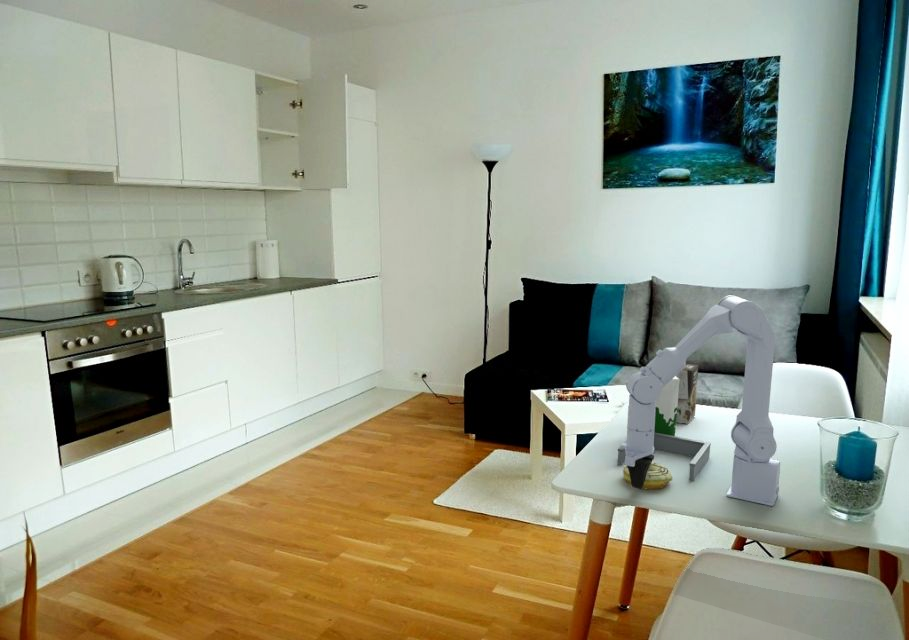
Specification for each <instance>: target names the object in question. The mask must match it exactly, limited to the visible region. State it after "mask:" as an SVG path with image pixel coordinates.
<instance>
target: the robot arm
mask: <svg viewBox="0 0 909 640" xmlns="http://www.w3.org/2000/svg"><path fill="white" fill-rule="evenodd" d="M733 329H735V330H736V331H737V333H739V334H740V335H741V336H742V337H743V338H744V339H745V340H746V342H747V343H746V351H745V352H746V356H745V368H744V378H743V390H742V391H743V392H742V404H741V410H740V412H739V413H737V415H736V420H735V424H734V425H733V427H732V429H731V431H730V438H731V441H732V442H733V444H734V445H735V447H734V448H735V449H734V451H733V460H732V461H733V462H732V463H733V464H732V474H731V475H732V476H731V483H730V484H731V485H730V486H729V489H728V490H727V491H726V493H725V495H726V497H730V498H734V499H738V500H742V501H743V500H744V501H747V502H752V503H757V504H762V505H766V506H770V507H774V505H775V503H776V500H777V497H778V495H779V492H780V486H779V483H780V473H781V461H780V460H776V459H773V458H772V457H774V455H775V454H776V451H777V445H778V444H777V442H776V439H775V437H774V429H775V428H774V426H773V424H772V421H771V419H770V416H769V412H770V402H771V401H770V400H771V391H772V379H773V365H774V355H775V345H776V333H775V330H774V329H773V326H772V324H771V322H770V320H769V319H768V317H767V311H766V310H765V309H763V307H762V306H760V305H759V304H757V303H756V302H754V301H751V300H747V299H744V298H741V297H739V296H736V295H733V294H732V295H726V296H724V297H722V298H721V299H720V300H719V301H718V303H717V304H714V305H712V306H711V307H710V308H709V310H708V311H707V312H706V314H705V315H704V316H703V317H702V318H701V319H700V320H699V321H698V322H697V323H696V324H695V325H694V327H692V328H691V329H690V331H689V332H687V334H686V335H685V336H684V337H683V338H682V339H681V340H680V341H679V342H678V343H677V344H676V345H675V346H673V347H664V348H663V349H662V350H661V349H658V350H657V351H656V352H655V354H656V355H655V357H654V358H653V359H651V360H650V361H649V362H648V363H647V364H646V365H645V366H641V367H640V368H639V371H638V372H637V371H636V372H634V373H633V374H631V375H630V376H629V378H628V381H627V382H626V383H625V387H626V390H627V392H628V393H629V397H628V407H627V409H628V410H627V423H626V424H627V425H626V426H627V427H626V428H627V429H626V441H625V442H626V443H625V442H622V443H620V447H621V448H624V449H625V452H626V455H625V456H624V461H625V462H624V464H623V465H624V466H625V465H627V467H628V470H629V474H630V479H631V484H632V485H631V484H630V485H631V487H632V488H635V489H640V490H641V489H643V488H642V487H643V485H644V482H645V479H646V475H647V471H648V469H649V466H650V464H651V462H653V461H654V460H655V455H654V453H655V449H654V446H653V445H654V427H655V410H656V409H655V404H656V400H657V399H658V398H659V397H660V394H661V389H662V388H663V387H664V386H665V385H666V384H667V383H668V382H670V381H671V380H672V379H673V378H674V377H675V376H676V375H677V374H678V373H679V372H680V371H682V370H683V369H684V368H685V365H686V364H687V362H686V361H687V358H688V357H690V356H691V355H692V354H693V353H695V352H696V351H697V350H699V348H700V347H702V346H703V345H705V343H708V341H709V340H711V339H712V338H713V337H714V336H715V335H718V334H719V335H720V334H731V333H734V330H733ZM664 384H665V385H664Z"/></svg>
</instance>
